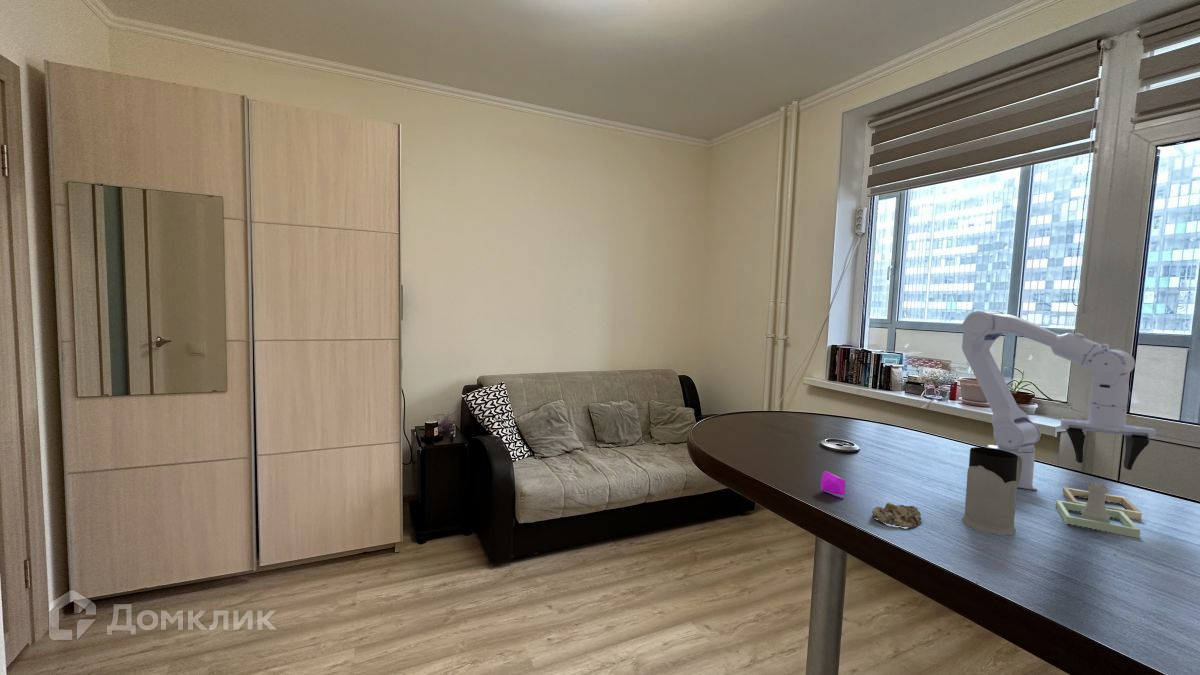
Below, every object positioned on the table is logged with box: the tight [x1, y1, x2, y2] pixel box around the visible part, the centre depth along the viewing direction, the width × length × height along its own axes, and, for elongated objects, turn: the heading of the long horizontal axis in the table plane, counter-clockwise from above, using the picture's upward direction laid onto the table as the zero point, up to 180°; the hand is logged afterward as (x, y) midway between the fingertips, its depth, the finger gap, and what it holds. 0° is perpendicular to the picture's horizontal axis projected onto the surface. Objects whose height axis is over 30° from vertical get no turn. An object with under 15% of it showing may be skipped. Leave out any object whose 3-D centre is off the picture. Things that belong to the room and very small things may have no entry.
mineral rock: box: [871, 502, 923, 529], centre depth 101 cm, size 11×4×8 cm
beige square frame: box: [1062, 486, 1143, 521], centre depth 110 cm, size 10×10×2 cm
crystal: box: [820, 470, 846, 496], centre depth 115 cm, size 5×5×5 cm
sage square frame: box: [1055, 499, 1141, 539], centre depth 102 cm, size 10×10×2 cm
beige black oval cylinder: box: [961, 446, 1022, 536], centre depth 100 cm, size 9×14×15 cm, turn 113°
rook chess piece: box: [1079, 481, 1111, 524], centre depth 102 cm, size 4×4×8 cm
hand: (1102, 465), depth 109 cm, fingers open, 7 cm apart
